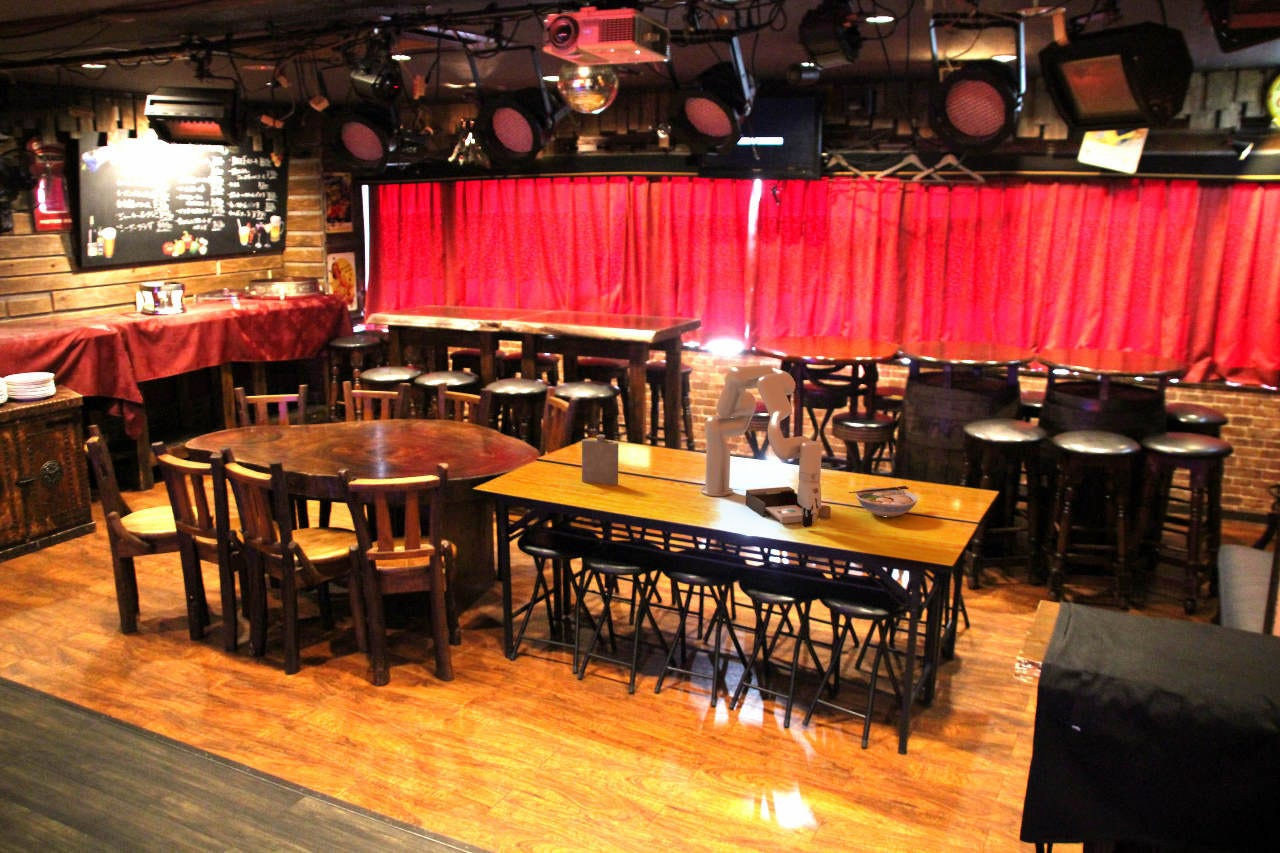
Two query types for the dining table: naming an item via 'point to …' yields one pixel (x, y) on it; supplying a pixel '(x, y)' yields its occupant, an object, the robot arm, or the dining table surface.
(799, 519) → the tray
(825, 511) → the brown cube
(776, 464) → the dining table surface
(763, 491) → the tray
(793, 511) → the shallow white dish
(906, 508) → the ramen bowl
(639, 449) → the dining table surface
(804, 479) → the robot arm
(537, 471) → the dining table surface
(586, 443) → the hip flask
